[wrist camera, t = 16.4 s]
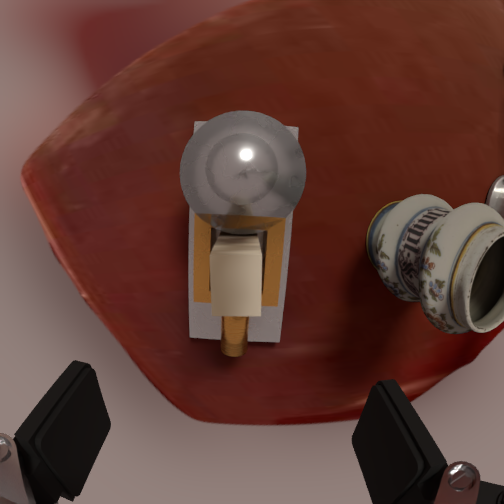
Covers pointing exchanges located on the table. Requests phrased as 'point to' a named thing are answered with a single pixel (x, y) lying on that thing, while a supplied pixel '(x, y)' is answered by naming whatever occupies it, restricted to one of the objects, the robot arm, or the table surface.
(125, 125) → the table surface
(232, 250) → the cream rectangular block
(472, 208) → the apothecary jar
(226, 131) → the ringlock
